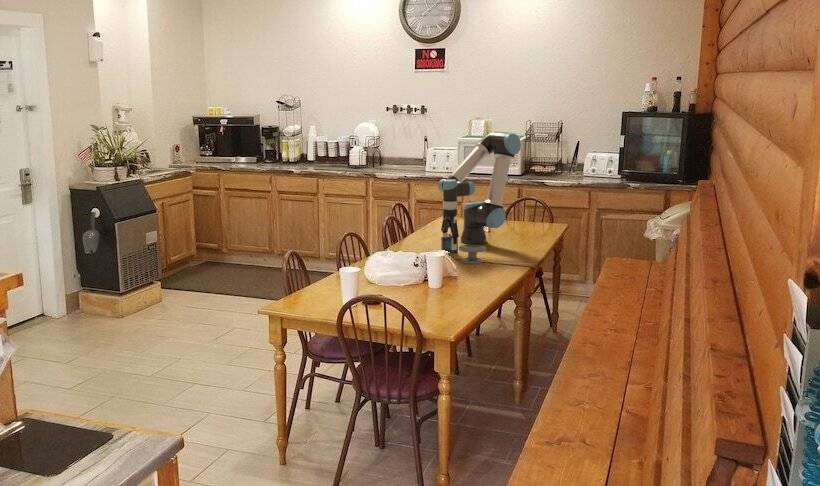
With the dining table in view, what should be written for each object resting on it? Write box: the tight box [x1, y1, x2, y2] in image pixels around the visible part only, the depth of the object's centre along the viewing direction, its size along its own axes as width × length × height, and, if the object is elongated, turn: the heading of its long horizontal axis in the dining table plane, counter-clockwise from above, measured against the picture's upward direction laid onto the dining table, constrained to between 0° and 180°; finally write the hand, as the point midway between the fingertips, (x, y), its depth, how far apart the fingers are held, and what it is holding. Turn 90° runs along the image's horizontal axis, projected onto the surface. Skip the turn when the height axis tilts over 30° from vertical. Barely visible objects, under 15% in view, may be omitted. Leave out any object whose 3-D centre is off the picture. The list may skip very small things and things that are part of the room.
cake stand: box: [458, 244, 487, 265], centre depth 381 cm, size 14×14×8 cm
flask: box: [440, 233, 459, 255], centre depth 400 cm, size 9×3×11 cm, turn 72°
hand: (449, 247), depth 400 cm, fingers open, 13 cm apart
